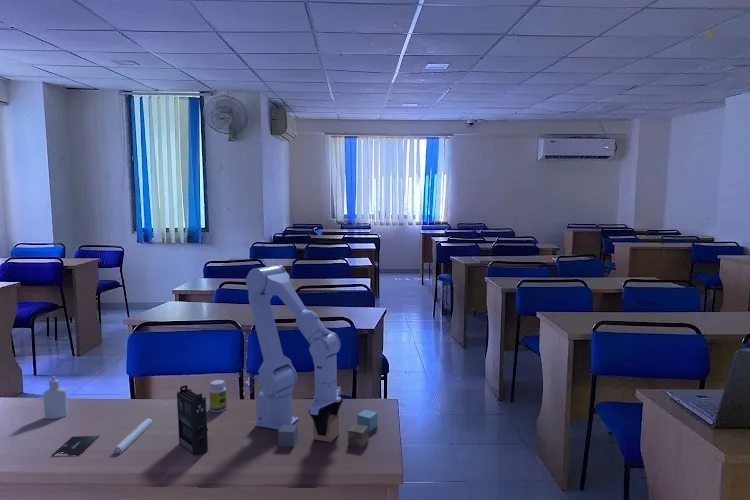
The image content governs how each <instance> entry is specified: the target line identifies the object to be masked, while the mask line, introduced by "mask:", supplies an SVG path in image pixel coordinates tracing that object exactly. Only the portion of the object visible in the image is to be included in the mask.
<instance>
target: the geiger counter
mask: <svg viewBox="0 0 750 500" xmlns="http://www.w3.org/2000/svg"><path fill="white" fill-rule="evenodd" d="M176 401H177V404H176V406H177V407H176V408H177V421H178V422H177V423H178V424H177V425H178V441H179V442H178V445H179V446H181V447H182V448H184V449H185V450H186V451H187V452H189V453H190V454H191V455H193V456H195V457H196V456H199V455H202V454H204V453H207V452H208V451H209V442H208V441H209V440H208V439H209V437H208V432H209V429H208V420H207V419H208V418H207V398H206V397H203V393H202V392H201V393H198V394H197V393H195V392H193V390H192V389H191V388H188V384H186V385H181V386H180V387H179V391H177V393H176Z"/></svg>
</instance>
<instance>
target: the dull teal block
mask: <svg viewBox="0 0 750 500" xmlns="http://www.w3.org/2000/svg"><path fill="white" fill-rule="evenodd" d="M356 417H357V419H356V422H357V425H364V426H368V433H371V432H372V431H373V430H375V429H376V428H377V427H378V411H377V412H376V411H372V410H368V409H364V410H362V411H361V412H359V413H358V414H357V415H356Z"/></svg>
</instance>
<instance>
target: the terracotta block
mask: <svg viewBox="0 0 750 500" xmlns="http://www.w3.org/2000/svg"><path fill="white" fill-rule="evenodd" d="M312 422H313V423H312V424H313V429H312V430H313V440H316V441H321V442H326V443H332V442H333V441H334V440H335V439H336V437H338V436H339V435H340V415H331V414H330V415H329V419H328V423H327V432H326V435H325V436H321V435H318V434H317V430H316V427H315V424H314V421H312Z"/></svg>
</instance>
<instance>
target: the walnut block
mask: <svg viewBox="0 0 750 500" xmlns="http://www.w3.org/2000/svg"><path fill="white" fill-rule="evenodd" d="M367 443H369V432H368V426H364V425H357V424H356V423H354V424H352V425H351V426H350V427H349V429H348V430H347V446H350V447H355V448H360V449H361V448H362V449H364V447H365V446H366V444H367Z"/></svg>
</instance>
